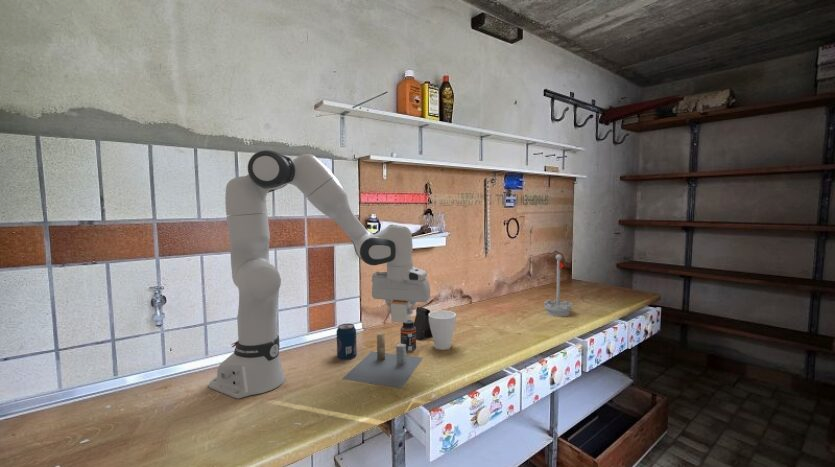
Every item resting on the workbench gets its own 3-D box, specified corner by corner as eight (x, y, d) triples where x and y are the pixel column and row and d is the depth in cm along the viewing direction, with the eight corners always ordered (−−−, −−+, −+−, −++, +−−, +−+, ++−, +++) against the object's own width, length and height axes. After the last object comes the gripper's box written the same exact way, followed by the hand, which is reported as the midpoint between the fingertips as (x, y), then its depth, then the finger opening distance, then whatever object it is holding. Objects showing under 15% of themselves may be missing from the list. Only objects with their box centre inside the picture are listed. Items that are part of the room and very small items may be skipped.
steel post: (396, 364, 121) (396, 346, 120) (399, 360, 123) (398, 343, 123) (403, 364, 120) (403, 347, 119) (406, 361, 122) (406, 344, 122)
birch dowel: (375, 360, 124) (375, 335, 123) (379, 356, 127) (378, 332, 126) (383, 361, 123) (382, 335, 122) (386, 357, 126) (385, 333, 125)
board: (341, 382, 111) (341, 378, 111) (371, 354, 132) (371, 351, 131) (401, 391, 104) (401, 388, 104) (423, 360, 125) (423, 357, 125)
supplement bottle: (414, 354, 131) (414, 324, 130) (398, 353, 132) (398, 323, 131) (417, 347, 137) (417, 319, 136) (402, 346, 138) (402, 318, 137)
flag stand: (539, 310, 184) (540, 253, 182) (563, 309, 186) (564, 252, 184) (551, 317, 171) (552, 256, 169) (577, 316, 173) (578, 255, 171)
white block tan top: (391, 321, 119) (390, 301, 118) (396, 316, 124) (396, 297, 123) (405, 322, 117) (405, 302, 117) (410, 317, 122) (410, 298, 122)
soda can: (335, 356, 130) (334, 324, 129) (354, 353, 132) (353, 321, 132) (339, 364, 123) (338, 330, 123) (358, 360, 126) (357, 327, 125)
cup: (461, 350, 134) (461, 315, 133) (439, 356, 128) (438, 320, 127) (445, 341, 143) (445, 308, 142) (423, 347, 137) (423, 313, 136)
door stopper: (427, 331, 154) (427, 304, 154) (436, 335, 150) (435, 307, 149) (410, 336, 149) (410, 308, 148) (418, 340, 144) (418, 311, 143)
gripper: (367, 273, 119) (369, 313, 120) (426, 275, 113) (426, 318, 114) (375, 269, 125) (376, 308, 126) (431, 272, 119) (431, 312, 120)
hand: (400, 312), depth 120 cm, fingers closed on white block tan top, 5 cm apart
